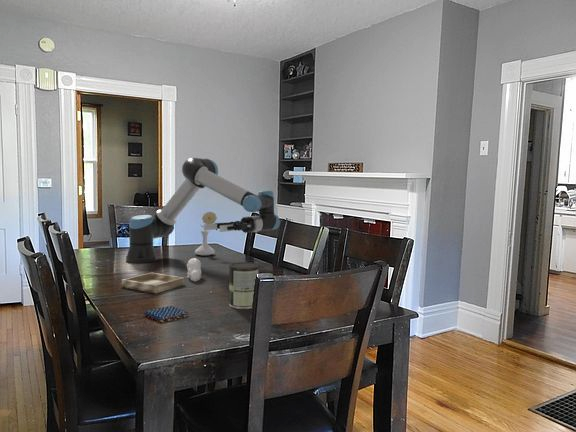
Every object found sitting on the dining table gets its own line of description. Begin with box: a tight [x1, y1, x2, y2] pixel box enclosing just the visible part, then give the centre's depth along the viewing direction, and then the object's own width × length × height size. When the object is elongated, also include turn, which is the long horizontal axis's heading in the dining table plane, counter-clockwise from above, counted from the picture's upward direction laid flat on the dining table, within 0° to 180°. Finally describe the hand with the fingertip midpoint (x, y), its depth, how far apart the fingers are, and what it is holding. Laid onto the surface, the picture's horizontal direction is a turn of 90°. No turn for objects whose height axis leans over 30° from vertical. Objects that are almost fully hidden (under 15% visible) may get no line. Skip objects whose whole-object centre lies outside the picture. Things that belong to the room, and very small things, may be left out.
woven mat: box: [143, 305, 189, 323], centre depth 137 cm, size 10×11×2 cm
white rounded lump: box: [186, 257, 202, 283], centre depth 187 cm, size 6×8×12 cm
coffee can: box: [228, 261, 260, 310], centre depth 151 cm, size 10×10×14 cm
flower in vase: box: [194, 211, 218, 257], centre depth 246 cm, size 13×11×25 cm
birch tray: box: [121, 272, 185, 294], centre depth 174 cm, size 18×16×3 cm
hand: (211, 228), depth 193 cm, fingers open, 13 cm apart
